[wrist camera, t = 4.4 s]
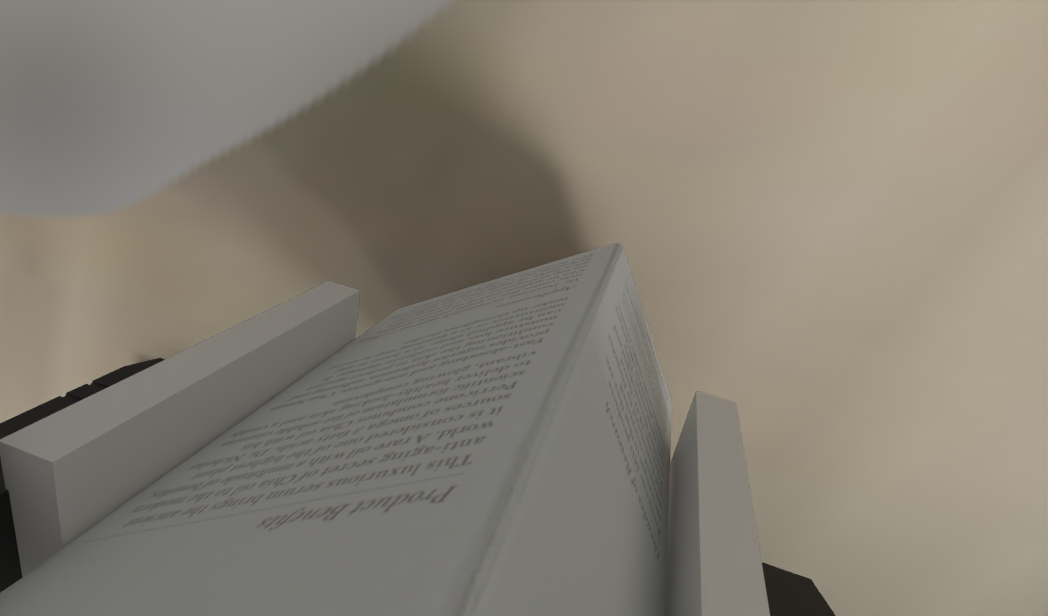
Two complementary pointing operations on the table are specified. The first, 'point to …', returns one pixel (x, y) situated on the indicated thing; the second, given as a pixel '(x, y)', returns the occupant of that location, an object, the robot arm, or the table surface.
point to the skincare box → (416, 475)
